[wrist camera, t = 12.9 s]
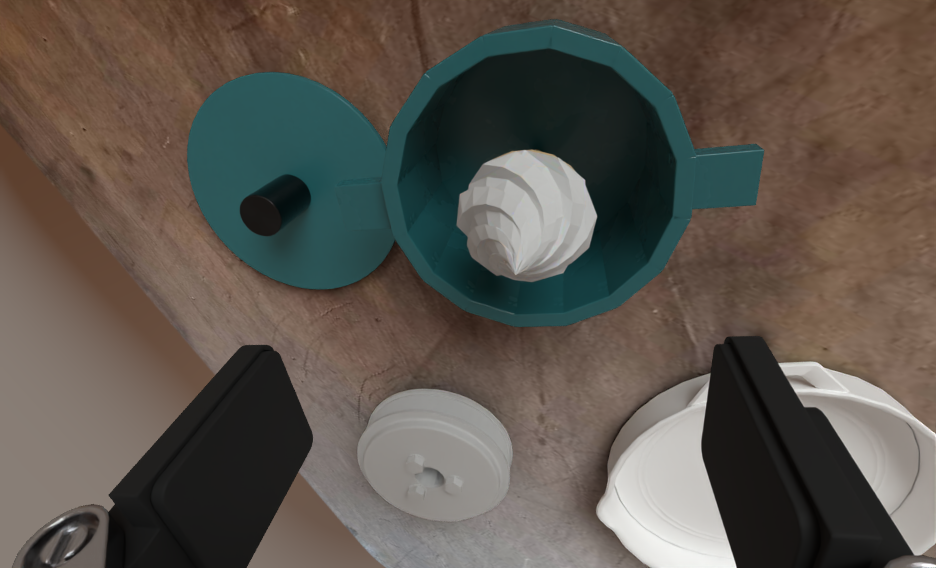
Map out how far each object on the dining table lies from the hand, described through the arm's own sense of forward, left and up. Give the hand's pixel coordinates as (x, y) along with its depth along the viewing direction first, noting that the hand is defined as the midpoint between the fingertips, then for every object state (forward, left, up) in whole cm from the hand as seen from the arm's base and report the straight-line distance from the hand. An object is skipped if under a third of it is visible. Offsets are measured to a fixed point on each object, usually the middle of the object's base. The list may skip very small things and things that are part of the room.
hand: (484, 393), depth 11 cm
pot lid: (+1, -16, -21) cm, 26 cm away
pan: (+27, +15, -22) cm, 38 cm away
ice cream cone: (0, 0, -21) cm, 21 cm away
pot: (0, 0, -21) cm, 21 cm away
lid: (+24, -10, -22) cm, 34 cm away
